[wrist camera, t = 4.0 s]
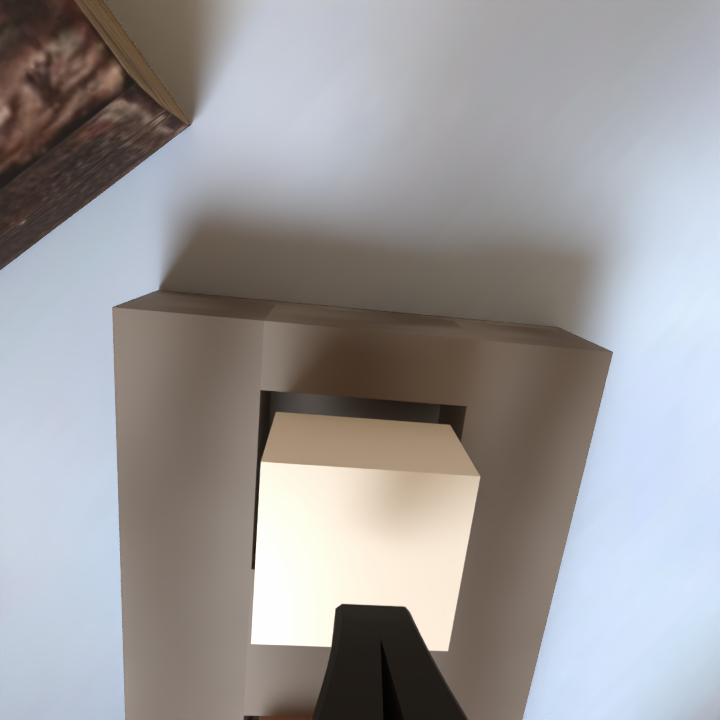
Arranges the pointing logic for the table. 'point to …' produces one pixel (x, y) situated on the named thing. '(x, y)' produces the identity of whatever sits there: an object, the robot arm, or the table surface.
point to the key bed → (344, 399)
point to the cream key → (359, 525)
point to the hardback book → (70, 113)
